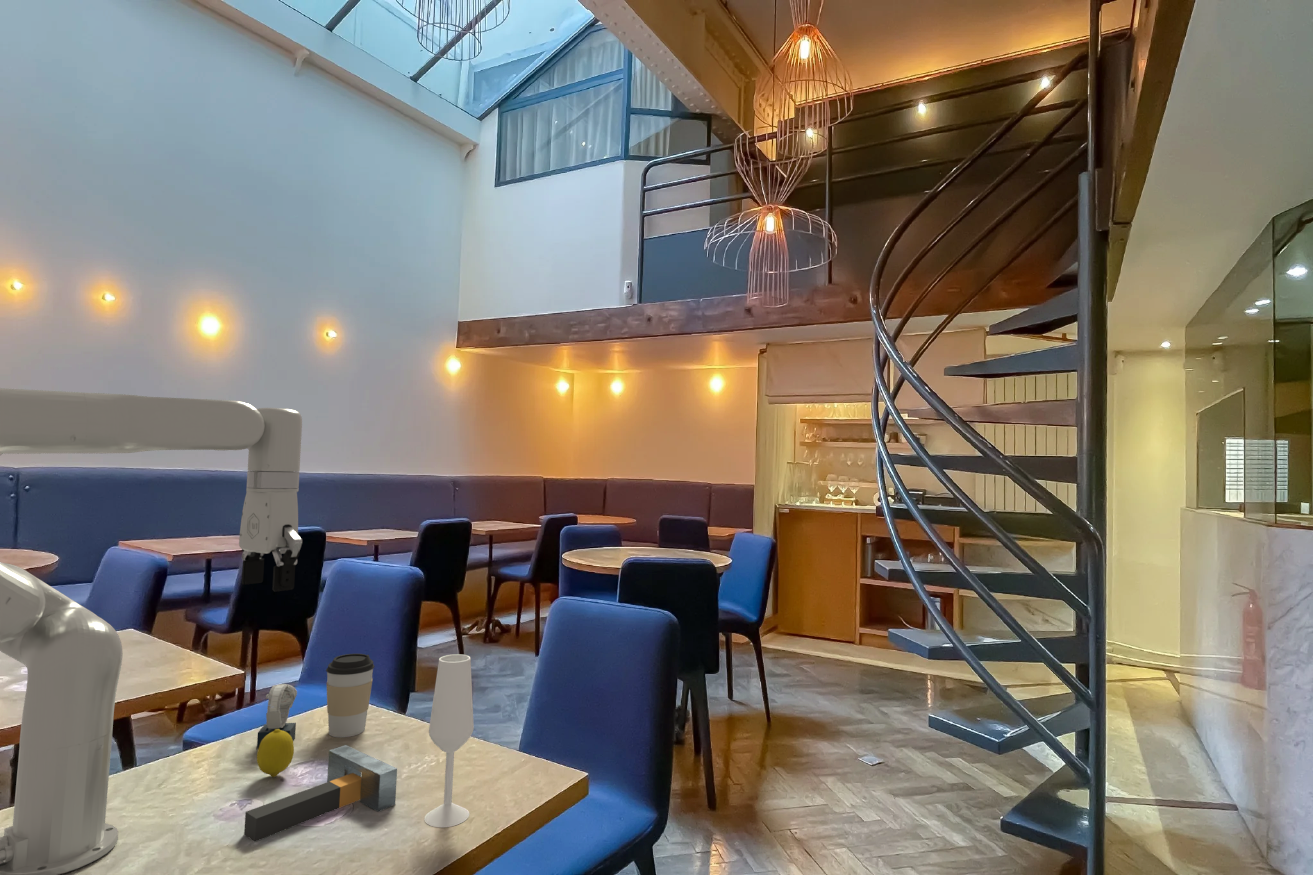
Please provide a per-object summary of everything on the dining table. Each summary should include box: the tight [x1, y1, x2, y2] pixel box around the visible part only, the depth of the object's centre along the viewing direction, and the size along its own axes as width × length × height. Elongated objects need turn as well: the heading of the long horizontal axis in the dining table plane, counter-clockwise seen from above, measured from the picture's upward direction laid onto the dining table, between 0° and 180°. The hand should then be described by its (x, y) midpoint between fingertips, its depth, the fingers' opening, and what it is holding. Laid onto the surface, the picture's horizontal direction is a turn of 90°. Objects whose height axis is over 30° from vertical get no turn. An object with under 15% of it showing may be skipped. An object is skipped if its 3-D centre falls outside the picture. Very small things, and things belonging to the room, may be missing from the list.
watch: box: [256, 683, 298, 750], centre depth 129 cm, size 6×8×11 cm
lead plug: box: [243, 773, 361, 843], centre depth 103 cm, size 16×3×3 cm, turn 145°
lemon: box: [256, 729, 295, 778], centre depth 115 cm, size 6×6×8 cm
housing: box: [326, 744, 398, 813], centre depth 110 cm, size 3×15×6 cm, turn 55°
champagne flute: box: [424, 653, 475, 828], centre depth 104 cm, size 7×7×24 cm
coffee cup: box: [325, 653, 375, 738], centre depth 137 cm, size 9×9×15 cm
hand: (267, 586), depth 110 cm, fingers open, 9 cm apart
